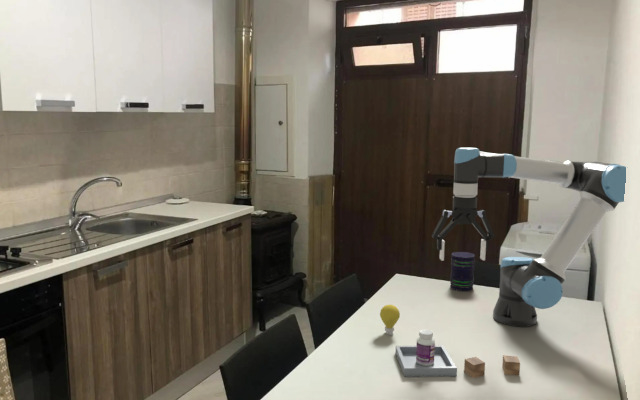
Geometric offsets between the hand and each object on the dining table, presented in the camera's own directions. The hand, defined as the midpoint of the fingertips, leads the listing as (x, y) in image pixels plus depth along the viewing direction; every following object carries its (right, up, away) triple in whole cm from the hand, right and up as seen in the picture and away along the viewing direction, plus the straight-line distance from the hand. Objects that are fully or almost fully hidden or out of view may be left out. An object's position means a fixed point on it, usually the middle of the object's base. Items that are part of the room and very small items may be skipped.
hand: (462, 259), depth 171 cm
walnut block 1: (-2, -30, -22) cm, 37 cm away
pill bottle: (-15, -29, -16) cm, 37 cm away
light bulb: (-23, -26, +7) cm, 36 cm away
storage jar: (+15, -19, +55) cm, 60 cm away
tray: (-16, -29, -16) cm, 37 cm away
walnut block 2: (+9, -30, -20) cm, 38 cm away
